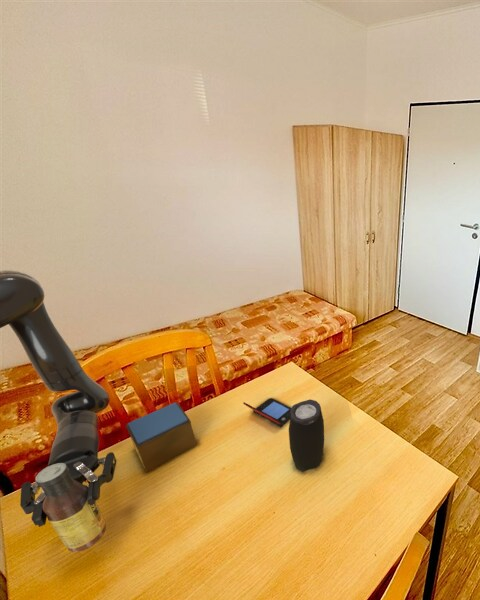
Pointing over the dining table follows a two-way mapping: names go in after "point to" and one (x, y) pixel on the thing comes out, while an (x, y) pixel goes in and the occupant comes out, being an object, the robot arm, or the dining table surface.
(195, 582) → the dining table surface
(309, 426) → the portable speaker
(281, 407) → the handheld console
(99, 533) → the sauce bottle
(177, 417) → the mat
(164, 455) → the blue topped brown block
